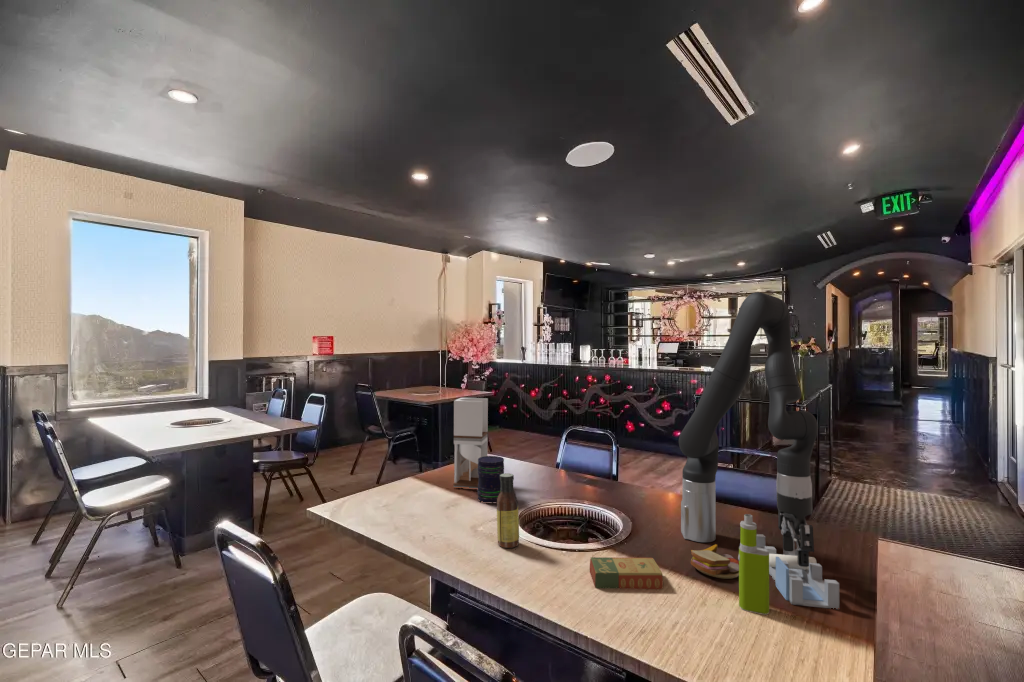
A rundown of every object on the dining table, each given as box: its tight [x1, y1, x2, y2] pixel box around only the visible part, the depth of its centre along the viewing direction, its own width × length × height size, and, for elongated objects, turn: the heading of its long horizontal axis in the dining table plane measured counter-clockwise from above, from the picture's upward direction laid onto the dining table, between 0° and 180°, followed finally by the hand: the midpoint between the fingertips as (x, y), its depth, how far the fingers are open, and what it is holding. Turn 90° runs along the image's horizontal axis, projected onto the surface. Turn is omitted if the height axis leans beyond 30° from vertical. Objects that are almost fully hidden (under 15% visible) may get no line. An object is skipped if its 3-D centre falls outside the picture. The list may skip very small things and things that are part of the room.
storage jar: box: [477, 455, 505, 502], centre depth 172 cm, size 10×10×15 cm
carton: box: [589, 556, 664, 590], centre depth 113 cm, size 8×16×4 cm, turn 89°
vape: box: [737, 513, 770, 615], centre depth 102 cm, size 4×6×20 cm, turn 67°
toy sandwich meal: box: [690, 543, 739, 580], centre depth 120 cm, size 12×14×5 cm
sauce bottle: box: [496, 472, 520, 549], centre depth 133 cm, size 6×6×20 cm
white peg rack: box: [756, 533, 840, 610], centre depth 115 cm, size 10×26×7 cm, turn 169°
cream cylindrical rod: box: [769, 553, 818, 570], centre depth 115 cm, size 10×3×3 cm, turn 79°
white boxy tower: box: [452, 397, 489, 488], centre depth 190 cm, size 11×11×35 cm
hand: (795, 558), depth 115 cm, fingers open, 8 cm apart
